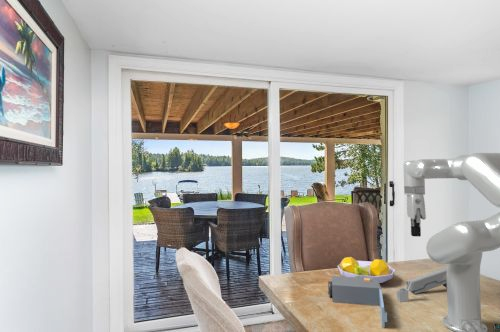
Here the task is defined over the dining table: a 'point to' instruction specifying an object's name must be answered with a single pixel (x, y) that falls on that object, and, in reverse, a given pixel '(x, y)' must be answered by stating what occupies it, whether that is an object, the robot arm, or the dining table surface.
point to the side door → (382, 309)
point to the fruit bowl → (366, 269)
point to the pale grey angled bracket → (404, 292)
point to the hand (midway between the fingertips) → (415, 235)
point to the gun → (429, 281)
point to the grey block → (354, 290)
